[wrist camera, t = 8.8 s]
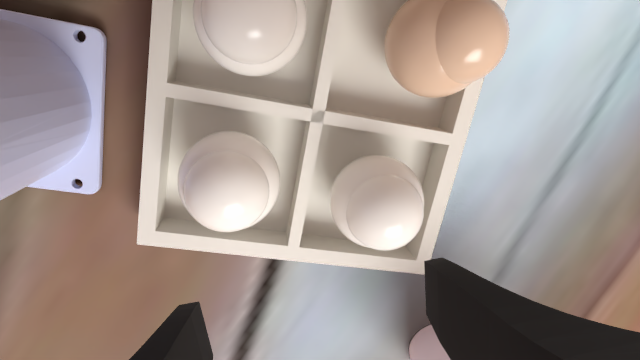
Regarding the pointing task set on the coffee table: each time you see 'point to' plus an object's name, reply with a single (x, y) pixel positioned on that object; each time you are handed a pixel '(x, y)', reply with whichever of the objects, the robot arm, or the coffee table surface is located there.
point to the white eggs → (256, 159)
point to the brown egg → (445, 44)
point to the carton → (297, 133)
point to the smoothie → (427, 346)
